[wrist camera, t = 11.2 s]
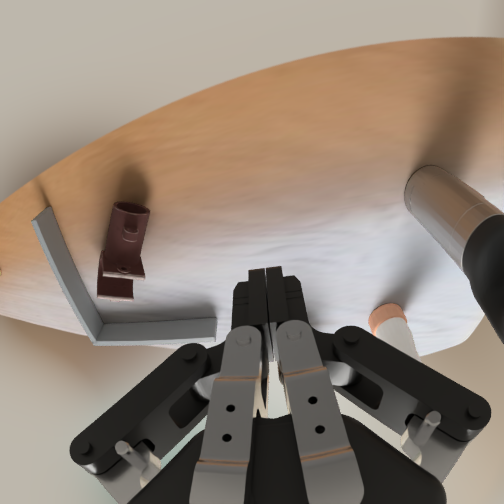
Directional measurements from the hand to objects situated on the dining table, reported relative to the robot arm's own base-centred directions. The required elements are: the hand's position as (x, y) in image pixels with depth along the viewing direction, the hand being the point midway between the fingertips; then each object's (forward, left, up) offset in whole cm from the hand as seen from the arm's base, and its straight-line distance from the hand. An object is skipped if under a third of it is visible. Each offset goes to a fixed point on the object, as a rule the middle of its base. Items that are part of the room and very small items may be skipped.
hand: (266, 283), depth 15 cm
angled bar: (+23, +18, -31) cm, 42 cm away
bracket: (+22, +14, -31) cm, 41 cm away
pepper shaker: (-22, +36, -31) cm, 52 cm away
